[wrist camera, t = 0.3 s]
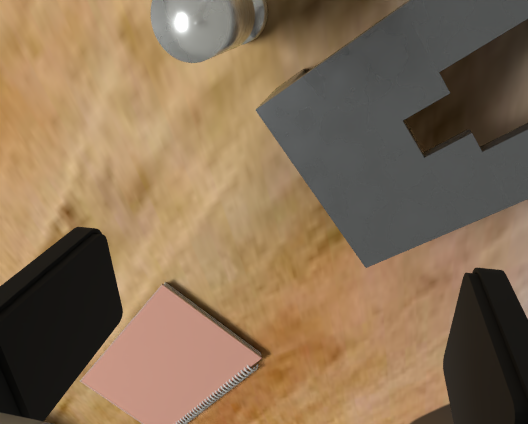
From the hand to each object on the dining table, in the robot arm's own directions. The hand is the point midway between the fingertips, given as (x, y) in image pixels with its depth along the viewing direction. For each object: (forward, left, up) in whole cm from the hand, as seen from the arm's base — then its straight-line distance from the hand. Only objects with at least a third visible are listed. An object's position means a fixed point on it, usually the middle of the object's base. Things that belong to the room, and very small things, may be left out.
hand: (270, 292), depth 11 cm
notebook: (+41, +20, -30) cm, 55 cm away
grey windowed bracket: (-6, +5, -30) cm, 31 cm away
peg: (+4, -10, -30) cm, 31 cm away
